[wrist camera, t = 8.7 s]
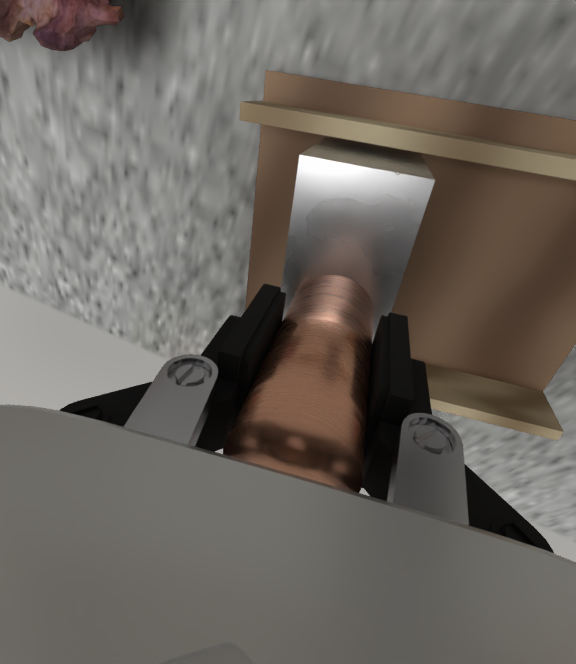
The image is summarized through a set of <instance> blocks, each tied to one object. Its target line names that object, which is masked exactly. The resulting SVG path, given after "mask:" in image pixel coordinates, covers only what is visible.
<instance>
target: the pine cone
mask: <svg viewBox="0 0 576 664" xmlns="http://www.w3.org/2000/svg"><path fill="white" fill-rule="evenodd" d="M110 2H111V0H0V37H2V38H4V39H5V40H7V41H9V42H10V41H13V40H16V39H19V38H21V37H22V35H23V32H24V31H25V30H26V29H28V28H29V27H30V26H34V24H35V23H36V28H35V30H34V32H33V34H34V36H35V37H36V39H37V40H38V41H39V43H40V44H41V46H43V47H46V48H49V49H51V50H58V51H67V50H71V49H74V48H75V47H77V46H78V45H80V44H81V43H82V42H84V41H89V40H90V38H91V37H92V35H93V34H94V33H95V31H96V26H98V25H116V24H117V23H118V22H119V21H120V20H121V19H122V18H123V17H124V15H123V11H122V7H119V6H111V5H109V4H110Z"/></svg>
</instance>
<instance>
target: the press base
mask: <svg viewBox="0 0 576 664" xmlns="http://www.w3.org/2000/svg"><path fill="white" fill-rule="evenodd" d="M240 120H241V121H247V122H252V123H258V124H261V133H260V145H259V156H258V168H257V180H256V191H255V203H254V215H253V226H252V238H251V250H250V261H249V273H248V285H247V296H246V308H245V311H246V309H247V308H248V306H249V305H250V303H251V302H252V300H253V299H254V297H255V296H256V294H257V293H258V291H259V290H260V288H261V287H262V285H263V284H269V285H273V286H278V287H281V283H282V276H283V269H284V262H285V255H286V248H287V240H288V233H289V226H290V219H291V212H292V205H293V198H294V191H295V184H296V176H297V169H298V162H299V155H300V154H301V153H303V152H304V151H306V150H308V149H309V148H311V147H312V146H314V145H315V144H317V143H318V142H320V141H321V140H323V139H324V138H326V137H330V138H336V139H342V140H347V141H353V142H358V143H364V144H369V145H375V146H381V147H386V148H392V149H397V150H403V151H408V152H414V153H420V154H421V155H422V157H423V159H424V161H425V162H426V164H427V166H428V168H429V170H430V172H431V173H432V175H433V177H434V179H435V182H434V185H433V188H432V191H431V194H430V197H429V200H428V203H427V206H426V209H425V212H424V215H423V218H422V221H421V224H420V227H419V230H418V233H417V236H416V239H415V242H414V245H413V248H412V251H411V254H410V257H409V260H408V263H407V266H406V269H405V272H404V275H403V278H402V281H401V284H400V287H399V290H398V293H397V296H396V299H395V302H394V305H393V308H392V311H391V313H396V314H400V315H404V316H407V317H408V328H409V341H410V353H411V359H415V360H420V361H423V362H425V365H426V373H427V381H428V388H429V396H430V403H431V409H435V410H439V411H443V412H447V413H451V414H455V415H459V416H463V417H467V418H471V419H475V420H479V421H483V422H487V423H490V424H494V425H498V426H502V427H506V428H510V429H514V430H518V431H522V432H526V433H530V434H534V435H538V436H542V437H546V438H549V439H553V440H558V439H559V438H560V436H561V435H562V434H563V433H564V431H563V430H562V428H561V426H560V424H559V422H558V420H557V418H556V416H555V414H554V412H553V410H552V408H551V406H550V405H549V403H548V401H547V399H546V397H545V395H544V393H543V390H544V389H545V388H546V386H547V385H548V383H549V382H550V380H551V379H552V377H553V376H554V374H555V373H556V371H557V370H558V369H559V367H560V366H561V364H562V363H563V361H564V360H565V358H566V357H567V355H568V354H569V352H570V351H571V349H572V348H573V347H574V345H575V344H576V120H570V119H564V118H558V117H552V116H546V115H539V114H533V113H527V112H521V111H515V110H509V109H502V108H496V107H490V106H484V105H478V104H472V103H465V102H459V101H453V100H447V99H441V98H435V97H428V96H422V95H416V94H410V93H404V92H398V91H391V90H385V89H379V88H373V87H367V86H361V85H354V84H348V83H342V82H336V81H330V80H324V79H317V78H311V77H305V76H299V75H293V74H287V73H280V72H274V71H268V70H266V75H265V87H264V98H263V101H245V102H241V105H240Z"/></svg>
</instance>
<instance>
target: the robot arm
mask: <svg viewBox="0 0 576 664" xmlns="http://www.w3.org/2000/svg"><path fill="white" fill-rule="evenodd" d="M285 299H286V293H284V292H281V287H278V286H273V285H269V284H263V285H262V287H261V288H260V290H259V291H258V293H257V294H256V296H255V297H254V299H253V300H252V302H251V303H250V305H249V306H248V308H247V309H246V311H245V312H244V314H243V315H242V317H237V316H233V315H231V316H229V317H228V318H227V320H226V321H225V323H224V324H223V325H222V327H221V328H220V329H219V331H218V332H217V334H216V335H215V336H214V338H213V339H212V340H211V342H210V343H209V345H208V346H207V347H206V349H205V350H204V351H203V353H202V354H201V356H200V355H192V354H189V355H181V356H178V357H175V358H173V359H171V360H169V361H167V362H166V363H165V364H164V366H163V367H162V368H161V370H160V371H159V373H158V375H157V376H156V377H155V379H154V381H153V382H149V383H146V384H142V385H138V386H134V387H130V388H126V389H122V390H118V391H115V392H111V393H107V394H103V395H99V396H95V397H91V398H88V399H84V400H80V401H77V402H74V403H71V404H69V405H67V406H65V407H64V408H62V409H60V410H59V411H58V410H52V409H46V408H39V407H33V406H20V405H0V664H576V562H573V561H571V560H569V559H566V558H564V557H561V556H559V555H556V554H554V552H553V550H552V549H551V547H550V545H549V544H548V542H547V541H546V539H545V538H544V537H543V536H542V535H541V534H540V533H539V532H538V531H537V530H536V529H535V528H534V527H533V526H532V525H531V524H530V523H529V522H528V521H527V520H525V519H524V518H523V517H522V516H521V515H520V514H519V513H518V512H517V511H516V510H515V509H513V508H512V507H511V506H510V505H509V504H508V503H507V502H506V501H505V500H504V499H502V498H501V497H500V496H499V495H498V494H497V493H496V492H495V491H494V490H493V489H491V488H490V487H489V486H488V485H487V484H486V483H485V482H484V481H483V480H482V479H480V478H479V477H478V476H477V475H476V474H475V473H474V472H473V471H472V470H471V469H470V468H468V467H467V466H466V465H465V464H464V452H463V444H462V440H461V437H460V436H459V434H458V433H457V431H456V430H455V429H454V428H453V427H452V426H451V425H450V424H448V423H447V422H445V421H444V420H442V419H441V418H438V417H436V416H434V415H432V411H431V403H430V396H429V388H428V381H427V373H426V365H425V362H423V361H420V360H415V359H411V353H410V341H409V328H408V317H407V316H404V315H400V314H396V313H391V312H389V314H388V316H384V315H382V316H381V318H380V321H379V324H378V327H377V330H376V333H375V336H374V340H373V343H372V350H371V365H370V379H369V393H368V408H367V422H366V436H365V451H364V465H363V479H362V486H361V488H364V489H365V490H366V491H367V493H368V494H369V495H370V496H366V495H363V494H360V493H356V492H353V491H350V490H346V489H343V488H339V487H336V486H332V485H329V484H325V483H322V482H318V481H315V480H311V479H308V478H304V477H301V476H297V475H294V474H290V473H287V472H283V471H280V470H276V469H273V468H269V467H266V466H262V465H259V464H255V463H252V462H248V461H245V460H241V459H238V458H234V457H231V456H227V455H223V454H220V453H216V452H215V451H217V450H219V449H222V448H223V449H224V444H225V442H226V439H227V437H228V435H229V433H230V431H231V428H232V426H233V424H234V422H235V420H236V418H237V416H238V414H239V412H240V410H241V407H242V405H243V403H244V401H245V399H246V397H247V395H248V393H249V391H250V388H251V386H252V384H253V382H254V380H255V378H256V376H257V374H258V372H259V370H260V367H261V365H262V363H263V361H264V359H265V357H266V355H267V353H268V351H269V348H270V346H271V344H272V342H273V340H274V338H275V336H276V334H277V332H278V330H279V327H280V325H281V323H282V319H283V313H284V306H285Z"/></svg>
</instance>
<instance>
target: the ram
mask: <svg viewBox="0 0 576 664" xmlns="http://www.w3.org/2000/svg"><path fill="white" fill-rule="evenodd" d="M434 182H435V179H434V177H433V175H432V173H431V172H430V170H429V168H428V166H427V164H426V162H425V161H424V159H423V157H422V155H421V154H420V153H414V152H408V151H403V150H397V149H392V148H386V147H381V146H375V145H369V144H364V143H358V142H353V141H347V140H342V139H336V138H330V137H326V138H324V139H323V140H321V141H320V142H318V143H317V144H315V145H314V146H312V147H311V148H309V149H308V150H306V151H304V152H303V153H301V154H300V155H299V162H298V169H297V176H296V184H295V191H294V198H293V205H292V212H291V219H290V226H289V233H288V240H287V248H286V255H285V262H284V269H283V276H282V283H281V292H284V293H286V299H285V306H284V313H283V319H282V323H281V325H280V327H279V330H278V332H277V334H276V336H275V338H274V340H273V342H272V344H271V346H270V348H269V351H268V353H267V355H266V357H265V359H264V361H263V363H262V365H261V367H260V370H259V372H258V374H257V376H256V378H255V380H254V382H253V384H252V386H251V388H250V391H249V393H248V395H247V397H246V399H245V401H244V403H243V405H242V407H241V410H240V412H239V414H238V416H237V418H236V420H235V422H234V424H233V426H232V428H231V431H230V433H229V435H228V437H227V439H226V442H225V444H224V449H223V455H227V456H231V457H234V458H238V459H241V460H245V461H248V462H252V463H255V464H259V465H262V466H266V467H269V468H273V469H276V470H280V471H283V472H287V473H290V474H294V475H297V476H301V477H304V478H308V479H311V480H315V481H318V482H322V483H325V484H329V485H332V486H336V487H339V488H343V489H346V490H350V491H353V492H356V493H359V492H360V490H361V486H362V479H363V465H364V451H365V436H366V422H367V408H368V393H369V379H370V365H371V350H372V343H373V340H374V336H375V333H376V330H377V327H378V324H379V321H380V318H381V316H382V315H384V316H388V314H389V312H391V311H392V308H393V305H394V302H395V299H396V296H397V293H398V290H399V287H400V284H401V281H402V278H403V275H404V272H405V269H406V266H407V263H408V260H409V257H410V254H411V251H412V248H413V245H414V242H415V239H416V236H417V233H418V230H419V227H420V224H421V221H422V218H423V215H424V212H425V209H426V206H427V203H428V200H429V197H430V194H431V191H432V188H433V185H434Z"/></svg>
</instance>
